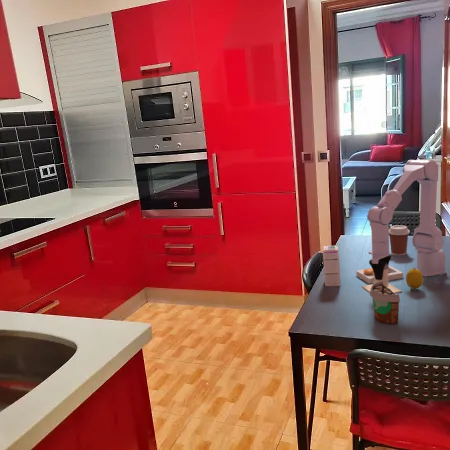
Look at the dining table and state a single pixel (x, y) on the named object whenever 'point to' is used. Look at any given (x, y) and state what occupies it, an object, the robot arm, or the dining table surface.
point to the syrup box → (331, 265)
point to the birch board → (391, 287)
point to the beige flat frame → (370, 278)
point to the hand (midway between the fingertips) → (381, 276)
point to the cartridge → (385, 276)
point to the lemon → (414, 278)
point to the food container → (385, 304)
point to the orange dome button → (368, 271)
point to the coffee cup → (398, 239)
